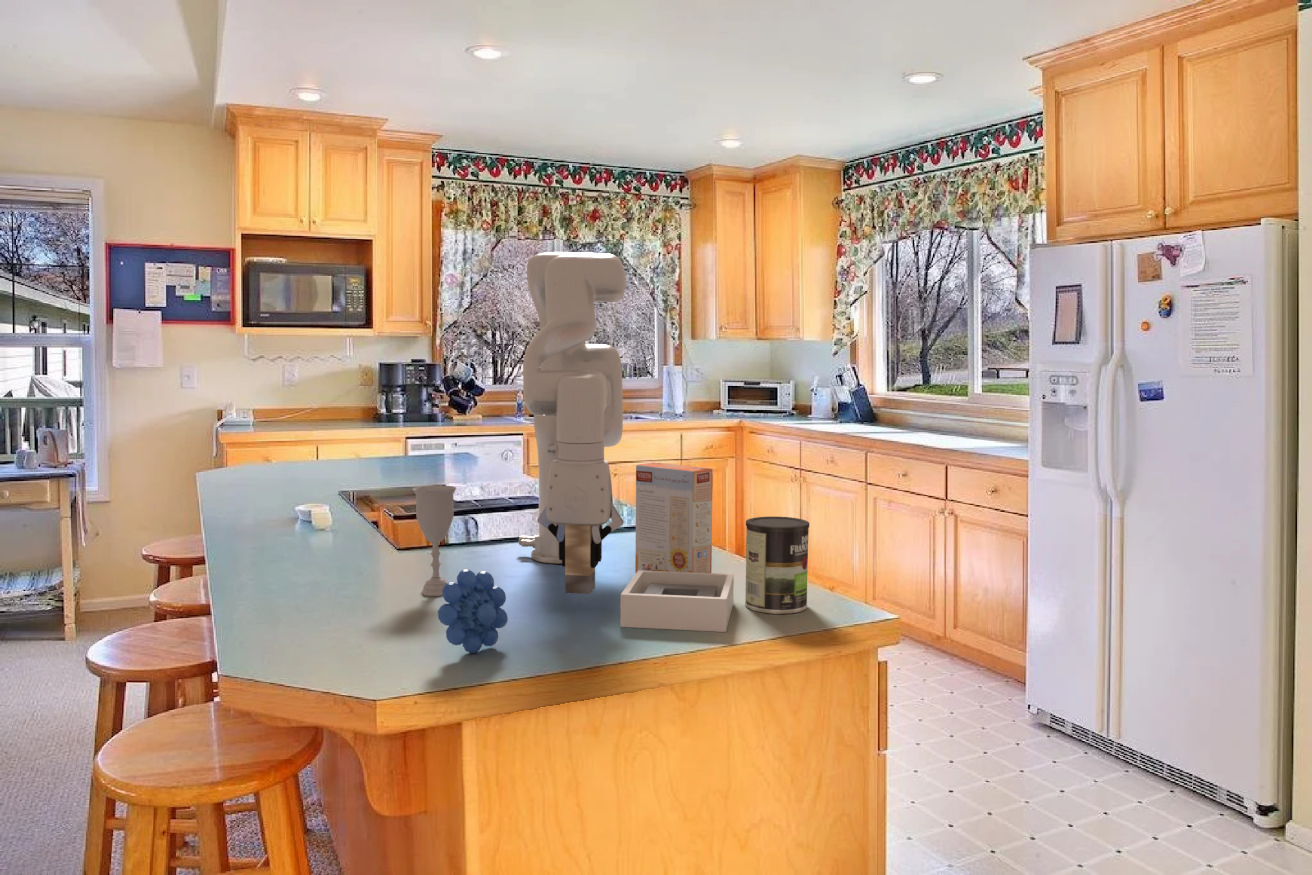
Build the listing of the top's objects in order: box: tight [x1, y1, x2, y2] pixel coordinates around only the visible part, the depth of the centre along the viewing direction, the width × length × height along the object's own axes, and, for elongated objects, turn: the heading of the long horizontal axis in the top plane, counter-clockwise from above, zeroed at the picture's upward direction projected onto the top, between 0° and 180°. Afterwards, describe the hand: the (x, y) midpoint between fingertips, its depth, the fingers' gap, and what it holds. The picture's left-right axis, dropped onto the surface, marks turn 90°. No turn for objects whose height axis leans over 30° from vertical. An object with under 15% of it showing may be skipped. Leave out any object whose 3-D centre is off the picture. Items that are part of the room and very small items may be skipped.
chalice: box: [412, 485, 457, 597], centre depth 168 cm, size 7×7×18 cm
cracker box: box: [634, 462, 714, 575], centre depth 178 cm, size 14×6×21 cm, turn 47°
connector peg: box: [564, 525, 596, 595], centre depth 157 cm, size 4×4×12 cm
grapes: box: [437, 569, 508, 654], centre depth 135 cm, size 12×7×12 cm, turn 139°
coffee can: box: [744, 516, 810, 615], centre depth 160 cm, size 10×10×14 cm
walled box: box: [620, 570, 735, 633], centre depth 155 cm, size 16×16×5 cm
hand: (580, 564), depth 158 cm, fingers closed on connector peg, 4 cm apart
